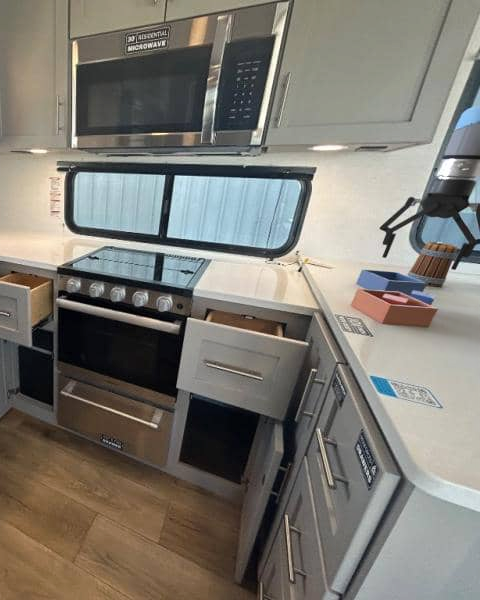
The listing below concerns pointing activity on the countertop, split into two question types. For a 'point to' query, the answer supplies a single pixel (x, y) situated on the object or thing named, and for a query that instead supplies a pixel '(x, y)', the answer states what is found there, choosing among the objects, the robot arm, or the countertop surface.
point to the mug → (433, 263)
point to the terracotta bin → (393, 308)
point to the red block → (394, 299)
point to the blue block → (423, 297)
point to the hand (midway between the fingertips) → (417, 262)
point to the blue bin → (389, 282)
